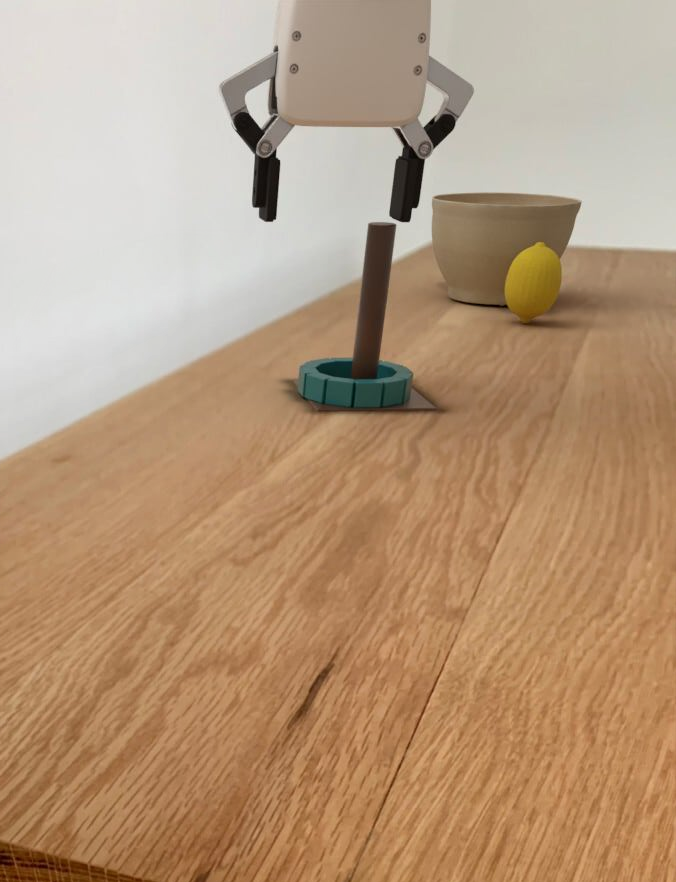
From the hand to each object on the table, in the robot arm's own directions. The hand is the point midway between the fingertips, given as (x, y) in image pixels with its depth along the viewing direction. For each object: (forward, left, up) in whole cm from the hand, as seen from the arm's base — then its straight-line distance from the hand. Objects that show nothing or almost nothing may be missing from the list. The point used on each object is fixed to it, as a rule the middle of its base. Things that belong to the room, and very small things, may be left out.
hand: (333, 219), depth 79 cm
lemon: (-31, -35, -14) cm, 49 cm away
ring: (-3, 0, -12) cm, 13 cm away
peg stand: (-4, 0, -14) cm, 14 cm away
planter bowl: (-32, -49, -14) cm, 60 cm away
